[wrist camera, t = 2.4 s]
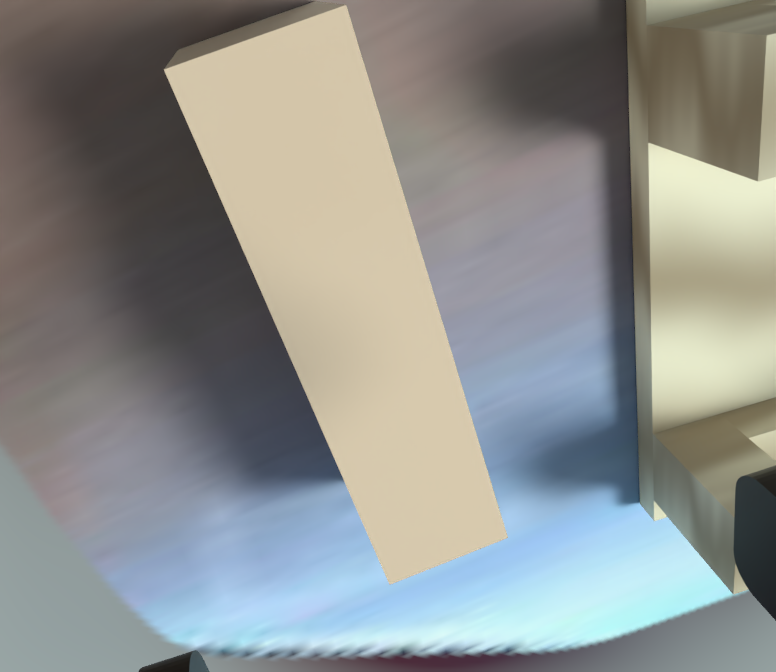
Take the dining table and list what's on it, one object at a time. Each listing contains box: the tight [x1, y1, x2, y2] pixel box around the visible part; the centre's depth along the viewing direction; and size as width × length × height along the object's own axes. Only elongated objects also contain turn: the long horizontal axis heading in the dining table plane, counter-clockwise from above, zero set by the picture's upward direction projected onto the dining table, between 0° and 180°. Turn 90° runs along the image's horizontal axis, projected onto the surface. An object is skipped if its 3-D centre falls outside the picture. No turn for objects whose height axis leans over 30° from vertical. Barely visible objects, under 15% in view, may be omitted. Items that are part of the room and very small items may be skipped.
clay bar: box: [164, 1, 508, 584], centre depth 18 cm, size 14×4×5 cm, turn 17°
